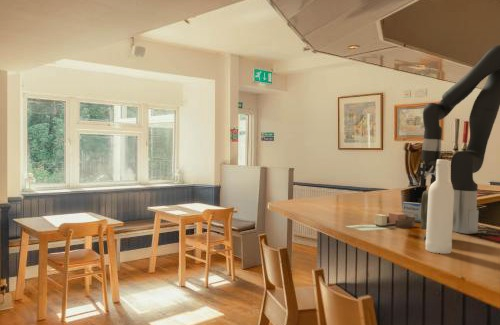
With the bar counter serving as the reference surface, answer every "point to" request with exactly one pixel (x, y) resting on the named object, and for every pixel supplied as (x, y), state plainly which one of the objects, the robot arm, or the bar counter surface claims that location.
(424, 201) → the tabletop clock
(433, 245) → the bottle
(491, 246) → the bar counter surface
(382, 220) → the pull block
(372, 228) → the shelf lane
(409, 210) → the medicine box
